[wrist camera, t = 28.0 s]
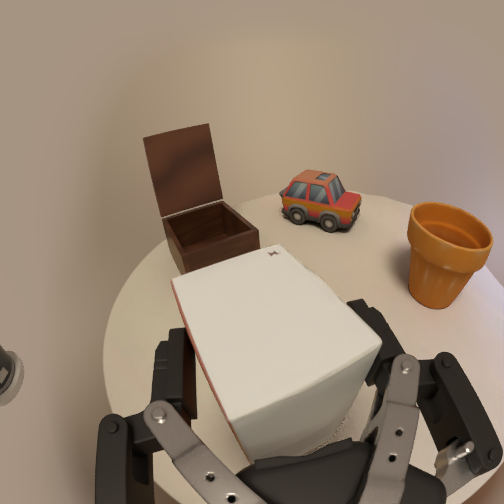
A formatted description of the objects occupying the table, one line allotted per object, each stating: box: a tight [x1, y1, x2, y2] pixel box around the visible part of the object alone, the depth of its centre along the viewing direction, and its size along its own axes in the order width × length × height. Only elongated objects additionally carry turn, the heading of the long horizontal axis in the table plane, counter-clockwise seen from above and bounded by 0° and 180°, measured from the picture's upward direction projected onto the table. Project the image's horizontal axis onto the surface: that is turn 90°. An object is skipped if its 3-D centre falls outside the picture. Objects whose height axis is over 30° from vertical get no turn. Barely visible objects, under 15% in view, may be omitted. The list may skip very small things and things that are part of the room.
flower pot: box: [407, 202, 493, 309], centre depth 34 cm, size 14×14×13 cm
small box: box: [171, 244, 382, 465], centre depth 14 cm, size 8×6×13 cm
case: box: [162, 201, 260, 275], centre depth 48 cm, size 15×13×8 cm
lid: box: [143, 124, 223, 217], centre depth 48 cm, size 15×13×1 cm
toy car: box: [279, 170, 362, 232], centre depth 58 cm, size 12×17×10 cm
